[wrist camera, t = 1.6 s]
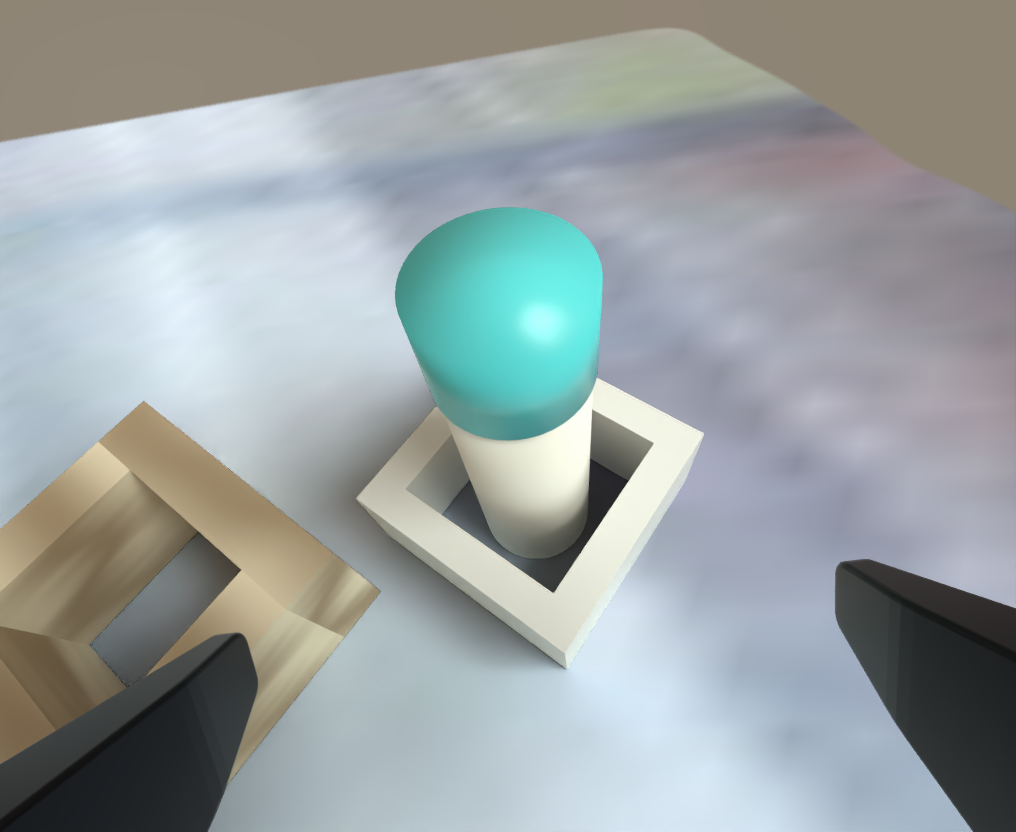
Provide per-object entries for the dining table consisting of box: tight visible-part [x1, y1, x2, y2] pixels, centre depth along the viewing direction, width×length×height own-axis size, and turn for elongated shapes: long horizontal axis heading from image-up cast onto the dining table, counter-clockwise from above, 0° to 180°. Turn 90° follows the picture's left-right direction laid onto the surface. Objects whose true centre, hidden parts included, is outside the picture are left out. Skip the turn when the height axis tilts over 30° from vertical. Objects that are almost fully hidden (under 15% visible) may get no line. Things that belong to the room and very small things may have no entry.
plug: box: [395, 207, 603, 559], centre depth 17 cm, size 4×4×13 cm
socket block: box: [0, 401, 381, 785], centre depth 20 cm, size 10×10×5 cm
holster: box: [356, 378, 704, 669], centre depth 21 cm, size 8×8×4 cm
